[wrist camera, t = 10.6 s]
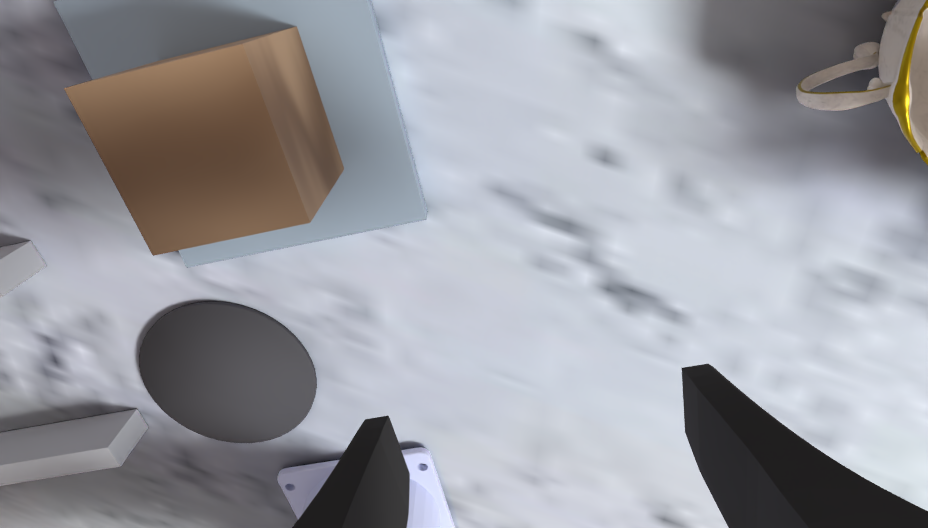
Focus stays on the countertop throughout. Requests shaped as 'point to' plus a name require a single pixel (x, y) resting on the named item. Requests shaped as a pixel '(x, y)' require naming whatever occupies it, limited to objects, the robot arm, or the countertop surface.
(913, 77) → the chinaware
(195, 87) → the walnut cube
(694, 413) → the robot arm
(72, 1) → the board
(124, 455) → the grey flat u-shaped piece
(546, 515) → the countertop surface
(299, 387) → the hole mat
